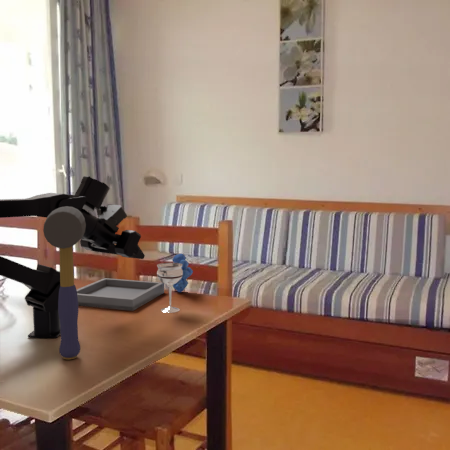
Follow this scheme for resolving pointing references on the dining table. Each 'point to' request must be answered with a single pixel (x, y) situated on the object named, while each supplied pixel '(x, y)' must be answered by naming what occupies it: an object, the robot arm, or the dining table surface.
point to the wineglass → (169, 279)
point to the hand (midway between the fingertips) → (132, 255)
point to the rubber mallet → (66, 272)
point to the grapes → (186, 272)
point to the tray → (119, 293)
